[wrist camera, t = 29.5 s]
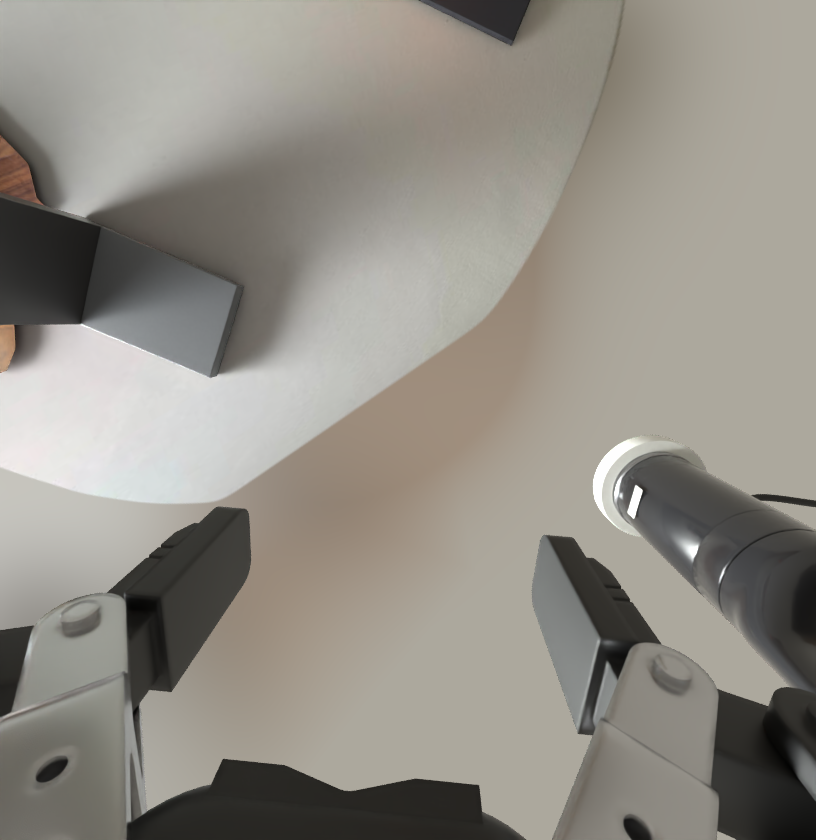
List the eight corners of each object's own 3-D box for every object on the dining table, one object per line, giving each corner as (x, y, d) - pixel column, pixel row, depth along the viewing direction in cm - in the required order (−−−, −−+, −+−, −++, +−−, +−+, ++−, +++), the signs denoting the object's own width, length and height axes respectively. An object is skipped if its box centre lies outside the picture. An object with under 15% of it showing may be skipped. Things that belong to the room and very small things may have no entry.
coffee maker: (244, 286, 41) (-43, 232, 16) (217, 376, 43) (-70, 453, 18) (83, 217, 40) (-498, 41, 15) (64, 312, 42) (-464, 301, 17)
